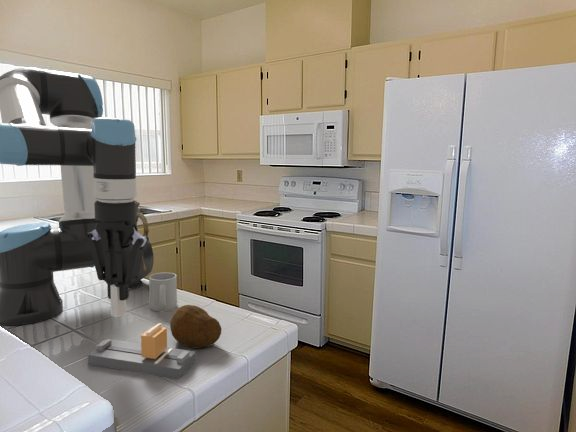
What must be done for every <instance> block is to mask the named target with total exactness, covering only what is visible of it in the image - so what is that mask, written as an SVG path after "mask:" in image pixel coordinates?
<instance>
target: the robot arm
mask: <svg viewBox="0 0 576 432" xmlns="http://www.w3.org/2000/svg"><path fill="white" fill-rule="evenodd" d="M103 107H104V102H103V97H102V92H101V89H100V86H99V84H98V82H97V81H96V79H95V78H94V77H92V76H89V75H84V74H80V73H77V72H76V73H73V72H65V71H58V70H52V69H51V70H49V69H43V68H38V67H20V68H15V69H12V70H10V71H7V72H5V73H3V74H1V75H0V118H1V123H0V165H10V166H13V165H15V166H18V167H21V166H60V175H61V176H60V177H61V189H62V196H63V197H62V199H63V210H64V211H63V212H64V213H63V215H62V216H61V217H60V219H59V220H58V227H52V225H51V224H50V223H48V222H32V223H25V224H19V225H16V226H12V227H9V228H6V229H3V230H0V324H1V325H2V326H22V325H24V326H25V325H29V324H33V323H34V324H35V323H38V322H42V321H46V320H49V319H51V318H53V317H55V316H57V315H59V314H60V313H61V312H62V311H63V309H64V307H63V304H64V303H63V298H62V297H61V296H60V294H59V291H58V289H57V286H56V284H55V281H54V273H55V272H64V271H70V270H79V269H85V268H95V272H96V275H97V279H98V280H99V281H104V282H105V283H106V284H107V298H108V299H110V313H111V315H110V317H115V318H119V317H121V316H122V315H124V314H125V313H127V299H129V297H130V291H129V289H130V288H129V284H130V283H132V282H134V281H136V280H137V279H138V275H139V270H140V265H141V261H142V256H143V251H144V247H145V246H146V244H147V242H148V241H149V240H150V238H149V236H144V237H143V235H142V234H141V233H139V229H138V225H137V226H136V224H135V221H136V218H137V203H136V202H135V201H136V200H135V199H136V198H137V176H136V175H137V172H136V171H137V169H136V168H137V165H136V164H137V163H136V157H137V155H136V153H137V151H136V147H137V145H136V142H137V137H136V130H135V124H134V122H133V121H132V120H130V119H125V118H117V117H116V118H114V117H113V118H112V117H103V114H104V108H103ZM43 115H49V122H50V123H51V124H52V125H53V126H48V125H46V122H45V121H46V120H45V118H44V116H43ZM132 240H133V242H132V244H134V245H133V247H132V250H131V254H130V259H129V250H130V248H131V241H132ZM149 242H150V241H149Z"/></svg>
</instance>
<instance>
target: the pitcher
mask: <svg viewBox="0 0 576 432" xmlns="http://www.w3.org/2000/svg"><path fill="white" fill-rule="evenodd" d="M134 201H135V202H136V203H137V218H136V221H135V224H136V226H137V227H138V221H139V219H140V221H141V222H142V225H143V235H142V236H143V237H144V236H147V237H149V223H148V220H147V218H146V216H145V215H144V213H142V212H139V206H140V204H141V203H140V202H138V201H137V200H134ZM132 242H133V240H132V241H131V248H130V250H129V259H130V254H131V250H132V247H133V245H134V244H132ZM154 259H155V258H154V249H153V247H152V244H151V242H150V241H148V242H147V244H146V246H145V247H144V251H143V256H142V261H141V265H140V270H139V275H138V279H137V280H136V281H134V282H132V283H130V284H129V289H136V288H139V287H141V286H143V283H144V282H143V279H144V278H146V277H148V275H149V274H151V273H152V271H153V268H154Z"/></svg>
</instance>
